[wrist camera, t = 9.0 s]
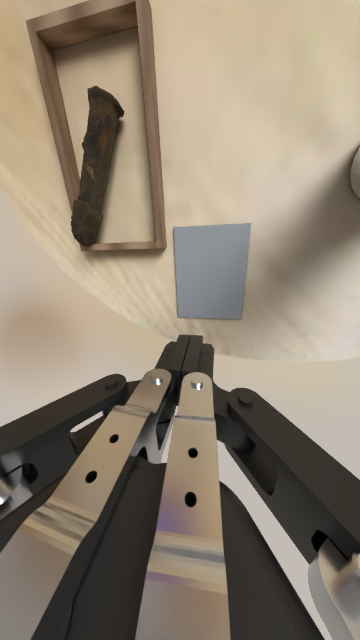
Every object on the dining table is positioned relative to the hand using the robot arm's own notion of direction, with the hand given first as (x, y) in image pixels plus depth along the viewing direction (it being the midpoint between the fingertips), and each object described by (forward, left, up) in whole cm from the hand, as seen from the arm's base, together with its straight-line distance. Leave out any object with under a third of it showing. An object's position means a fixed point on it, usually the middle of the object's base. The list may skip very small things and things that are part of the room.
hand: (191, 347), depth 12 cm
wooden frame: (+15, -18, -23) cm, 33 cm away
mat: (0, 0, -23) cm, 23 cm away
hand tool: (+15, -19, -26) cm, 35 cm away
